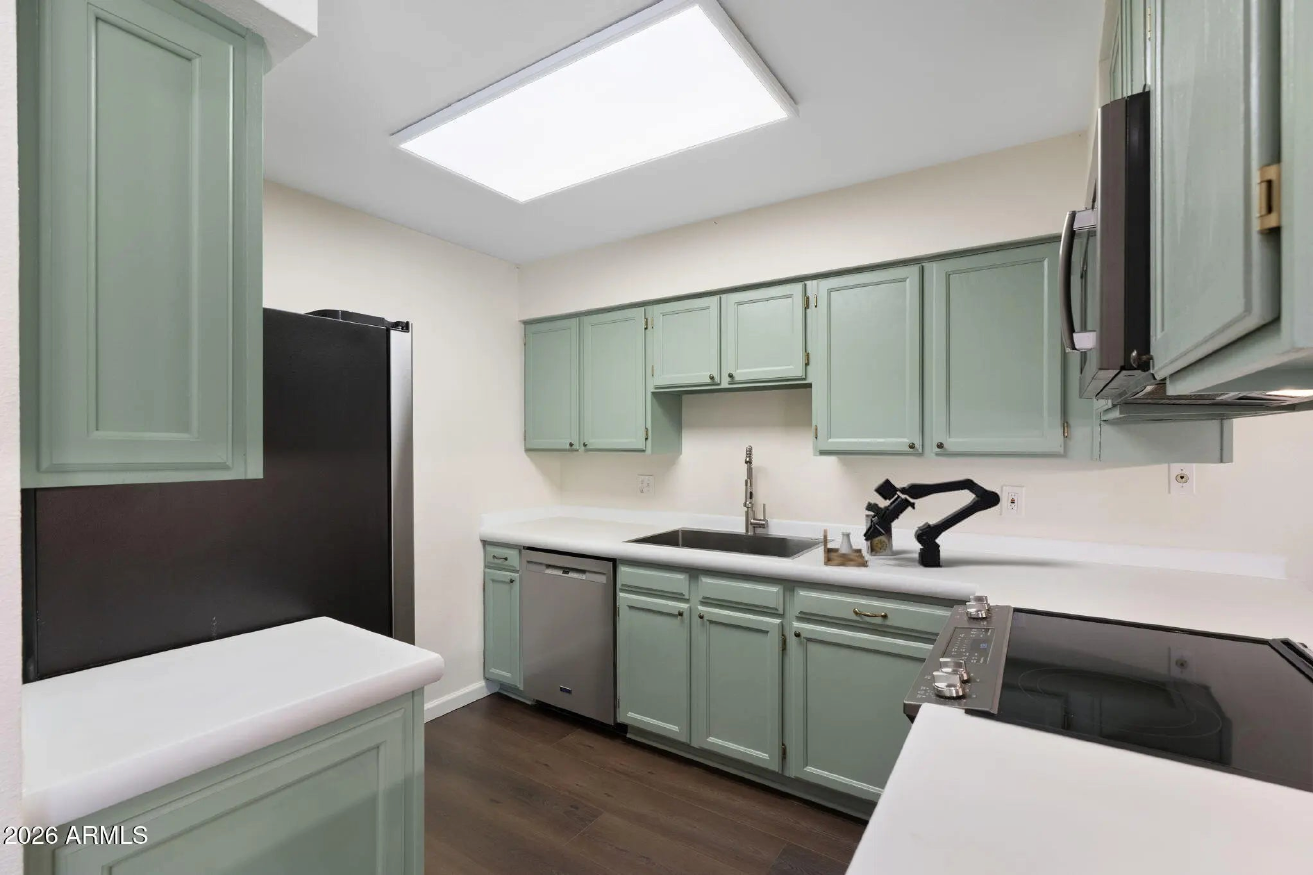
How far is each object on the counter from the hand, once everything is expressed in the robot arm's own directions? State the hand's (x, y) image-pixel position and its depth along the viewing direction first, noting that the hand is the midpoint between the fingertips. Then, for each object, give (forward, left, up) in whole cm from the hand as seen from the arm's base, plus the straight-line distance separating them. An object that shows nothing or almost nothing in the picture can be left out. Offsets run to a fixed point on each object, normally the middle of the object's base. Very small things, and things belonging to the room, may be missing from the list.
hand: (864, 538), depth 227 cm
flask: (+7, -1, -8) cm, 11 cm away
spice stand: (+7, -1, -9) cm, 12 cm away
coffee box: (-10, -17, -10) cm, 22 cm away
